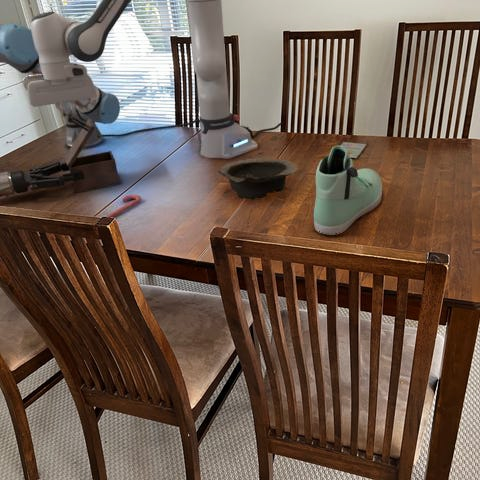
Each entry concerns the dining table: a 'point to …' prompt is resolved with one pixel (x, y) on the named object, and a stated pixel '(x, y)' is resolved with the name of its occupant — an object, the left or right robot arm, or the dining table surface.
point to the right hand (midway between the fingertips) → (68, 115)
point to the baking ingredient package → (353, 148)
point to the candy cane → (126, 205)
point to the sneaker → (343, 192)
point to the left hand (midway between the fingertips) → (82, 169)
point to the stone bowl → (257, 176)
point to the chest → (95, 171)
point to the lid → (79, 138)
